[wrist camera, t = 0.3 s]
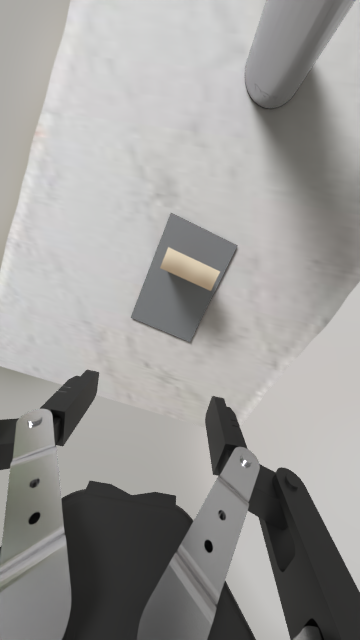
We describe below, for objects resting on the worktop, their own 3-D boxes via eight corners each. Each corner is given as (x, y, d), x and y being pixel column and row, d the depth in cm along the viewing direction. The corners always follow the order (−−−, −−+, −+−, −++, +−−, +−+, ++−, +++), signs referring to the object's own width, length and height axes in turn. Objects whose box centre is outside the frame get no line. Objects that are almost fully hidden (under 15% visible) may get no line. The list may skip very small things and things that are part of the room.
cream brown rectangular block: (172, 253, 35) (168, 246, 25) (208, 270, 36) (220, 271, 26) (166, 268, 36) (160, 267, 26) (202, 284, 37) (210, 291, 26)
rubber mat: (171, 213, 34) (171, 212, 34) (236, 245, 36) (237, 245, 35) (131, 317, 39) (130, 317, 39) (189, 341, 41) (189, 342, 40)
